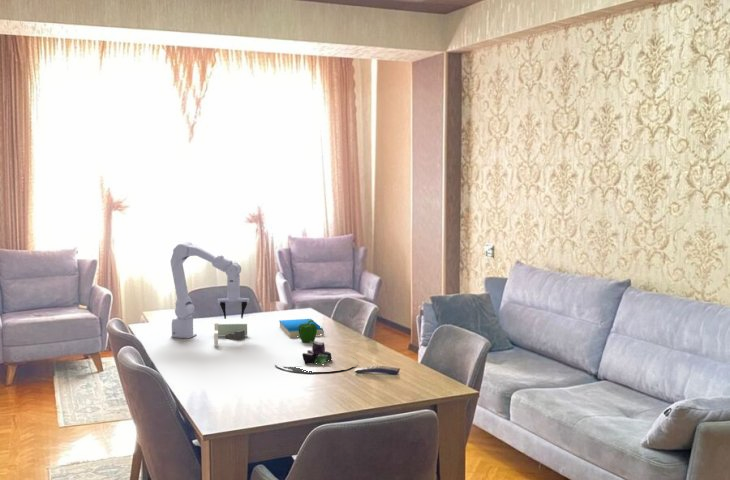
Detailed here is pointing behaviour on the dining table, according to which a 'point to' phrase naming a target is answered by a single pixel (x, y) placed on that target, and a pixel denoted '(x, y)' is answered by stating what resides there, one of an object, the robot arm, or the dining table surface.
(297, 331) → the book
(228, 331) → the door
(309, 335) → the bell pepper
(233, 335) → the grey stepped block
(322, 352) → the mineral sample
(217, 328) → the rectangular block
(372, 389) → the dining table surface
